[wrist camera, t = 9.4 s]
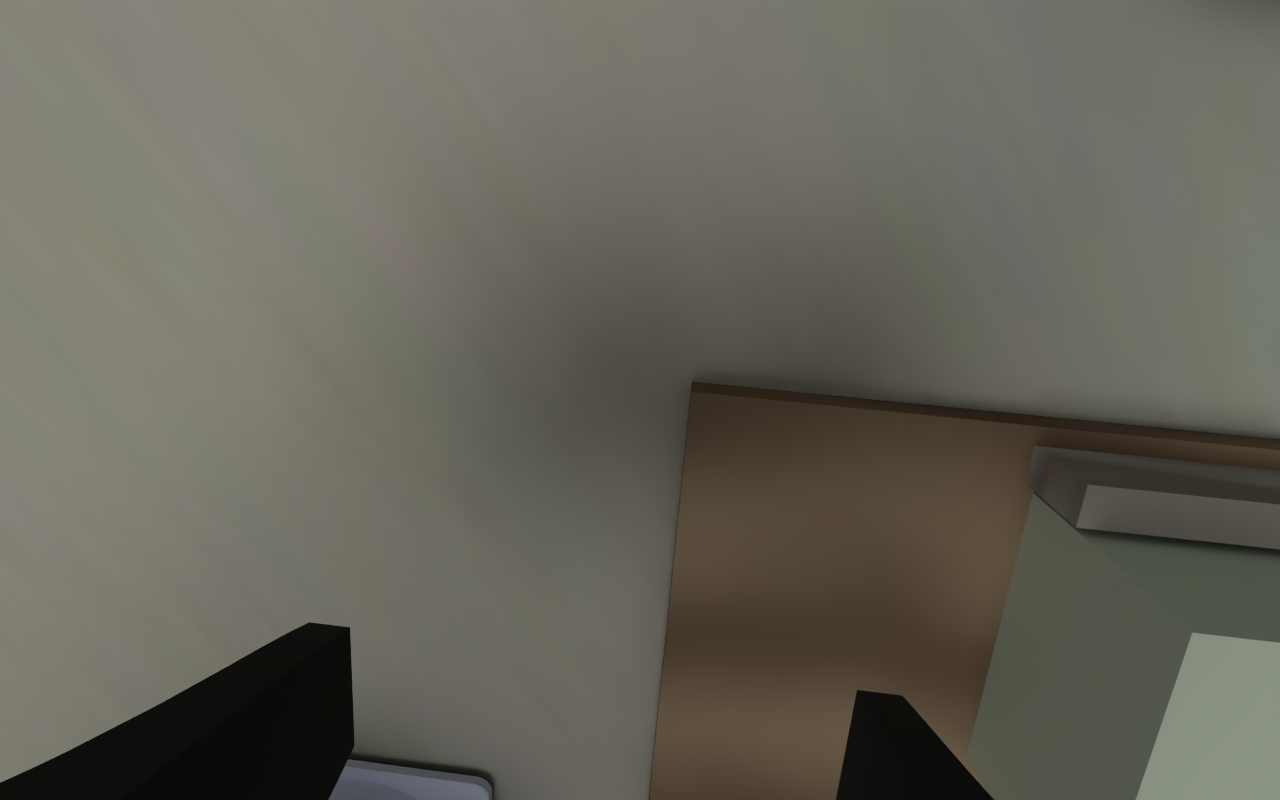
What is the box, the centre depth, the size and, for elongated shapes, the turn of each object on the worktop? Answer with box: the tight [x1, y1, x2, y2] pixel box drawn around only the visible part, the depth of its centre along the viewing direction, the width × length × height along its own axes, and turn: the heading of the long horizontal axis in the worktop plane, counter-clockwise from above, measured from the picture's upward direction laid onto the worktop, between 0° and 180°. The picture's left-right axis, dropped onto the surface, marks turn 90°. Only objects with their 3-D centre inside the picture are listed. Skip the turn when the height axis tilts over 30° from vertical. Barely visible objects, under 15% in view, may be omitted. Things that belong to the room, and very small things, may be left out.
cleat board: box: [649, 382, 1280, 800], centre depth 19 cm, size 15×15×4 cm
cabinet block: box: [967, 493, 1280, 800], centre depth 16 cm, size 8×6×6 cm
